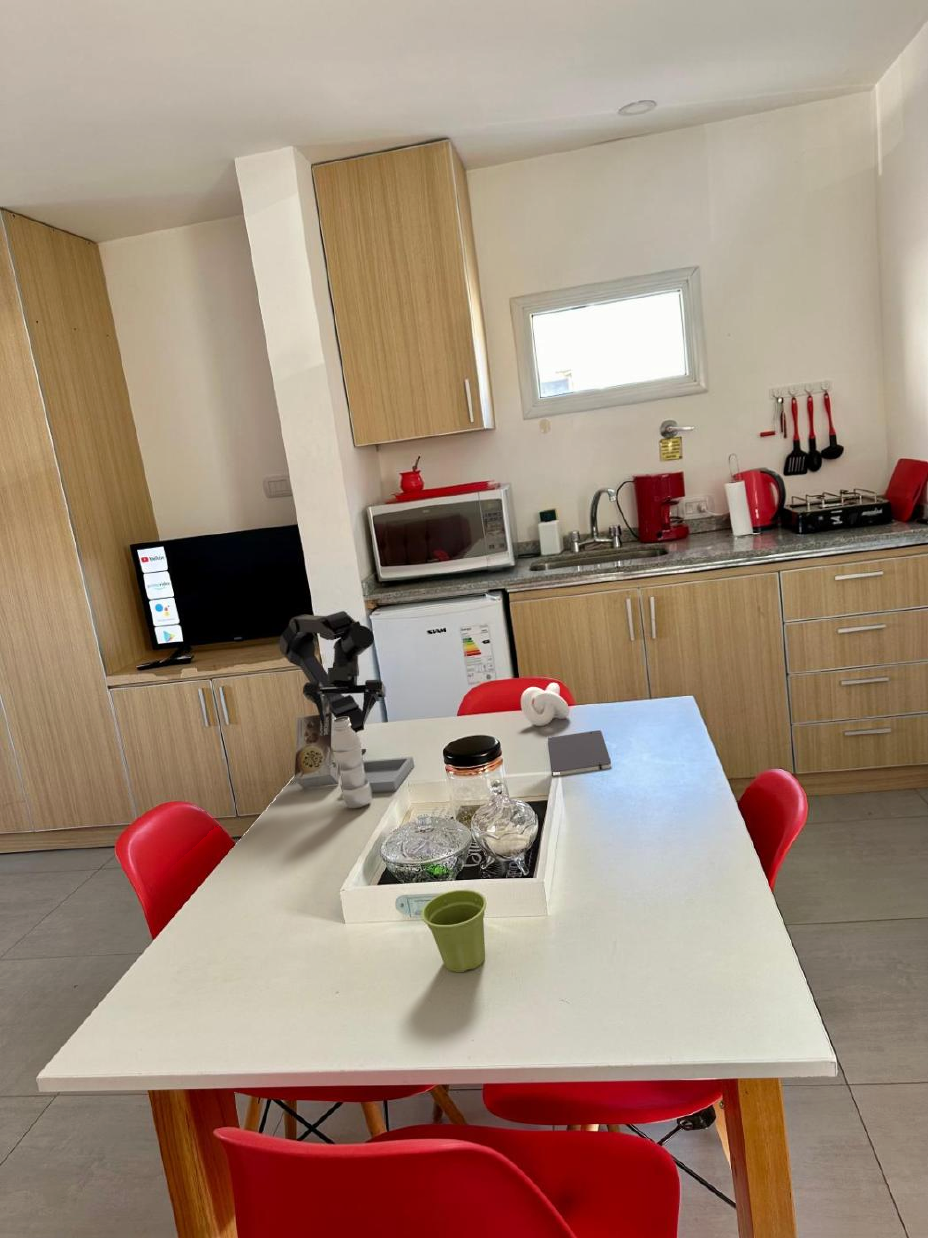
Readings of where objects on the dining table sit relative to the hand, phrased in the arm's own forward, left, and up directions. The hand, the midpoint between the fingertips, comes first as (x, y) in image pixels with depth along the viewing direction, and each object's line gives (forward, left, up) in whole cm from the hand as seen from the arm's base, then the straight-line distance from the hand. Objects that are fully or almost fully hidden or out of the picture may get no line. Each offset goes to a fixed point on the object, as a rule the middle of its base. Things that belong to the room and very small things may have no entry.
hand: (343, 725), depth 199 cm
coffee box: (+4, -8, -12) cm, 15 cm away
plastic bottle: (+13, +6, -14) cm, 20 cm away
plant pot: (+69, +44, -14) cm, 83 cm away
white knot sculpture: (-31, +42, -15) cm, 54 cm away
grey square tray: (0, +6, -14) cm, 15 cm away
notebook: (-7, +52, -15) cm, 55 cm away
